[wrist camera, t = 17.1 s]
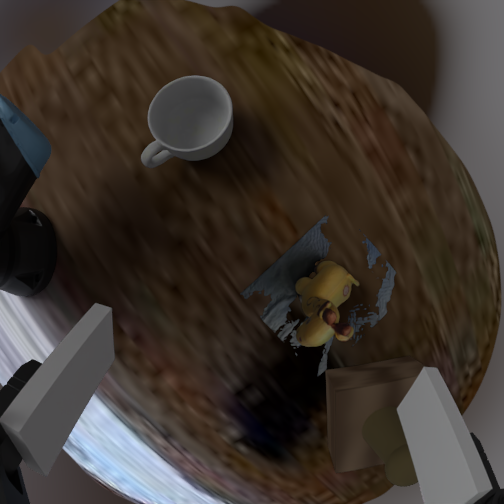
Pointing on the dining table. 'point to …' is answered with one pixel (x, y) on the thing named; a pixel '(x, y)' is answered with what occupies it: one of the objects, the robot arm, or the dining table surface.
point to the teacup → (188, 120)
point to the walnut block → (363, 406)
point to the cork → (390, 445)
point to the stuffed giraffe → (315, 293)
